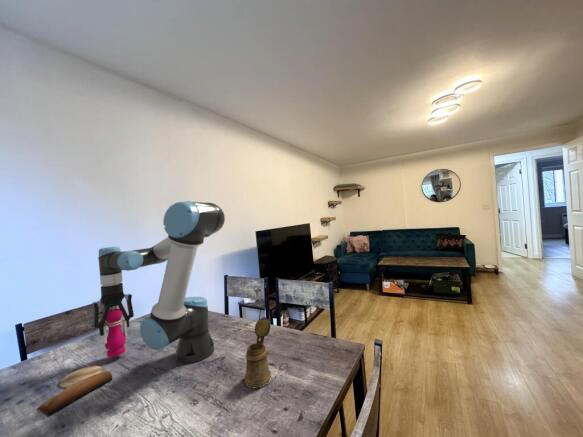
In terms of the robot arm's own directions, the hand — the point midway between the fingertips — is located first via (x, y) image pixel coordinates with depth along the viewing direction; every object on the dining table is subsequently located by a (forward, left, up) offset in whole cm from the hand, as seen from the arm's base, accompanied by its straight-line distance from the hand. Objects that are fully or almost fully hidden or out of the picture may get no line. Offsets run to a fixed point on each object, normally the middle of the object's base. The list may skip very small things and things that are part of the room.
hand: (115, 338), depth 105 cm
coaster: (-5, +12, -8) cm, 15 cm away
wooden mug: (-59, -28, -8) cm, 65 cm away
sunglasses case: (-16, +15, -9) cm, 23 cm away
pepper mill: (0, 0, -6) cm, 6 cm away
